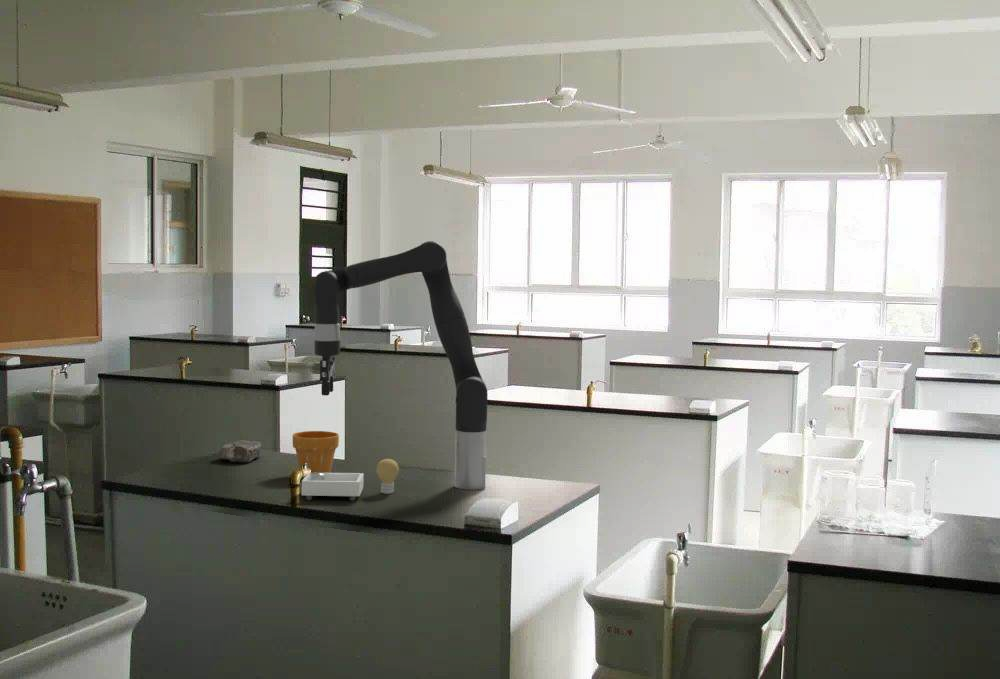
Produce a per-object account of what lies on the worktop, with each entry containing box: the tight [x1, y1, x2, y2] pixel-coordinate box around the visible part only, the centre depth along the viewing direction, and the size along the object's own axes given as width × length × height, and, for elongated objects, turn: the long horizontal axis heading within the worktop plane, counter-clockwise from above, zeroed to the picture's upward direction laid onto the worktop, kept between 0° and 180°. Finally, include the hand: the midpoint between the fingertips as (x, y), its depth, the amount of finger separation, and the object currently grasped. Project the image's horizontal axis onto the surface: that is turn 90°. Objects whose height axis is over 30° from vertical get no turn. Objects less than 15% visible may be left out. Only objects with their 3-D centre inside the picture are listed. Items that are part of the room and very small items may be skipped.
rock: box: [218, 438, 263, 464], centre depth 335 cm, size 13×6×15 cm
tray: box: [301, 472, 365, 502], centre depth 284 cm, size 16×12×6 cm
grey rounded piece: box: [310, 472, 325, 481], centre depth 284 cm, size 4×4×4 cm
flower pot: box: [292, 430, 340, 473], centre depth 312 cm, size 14×14×13 cm
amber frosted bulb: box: [376, 458, 400, 495], centre depth 290 cm, size 6×6×10 cm
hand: (327, 393), depth 297 cm, fingers open, 8 cm apart
